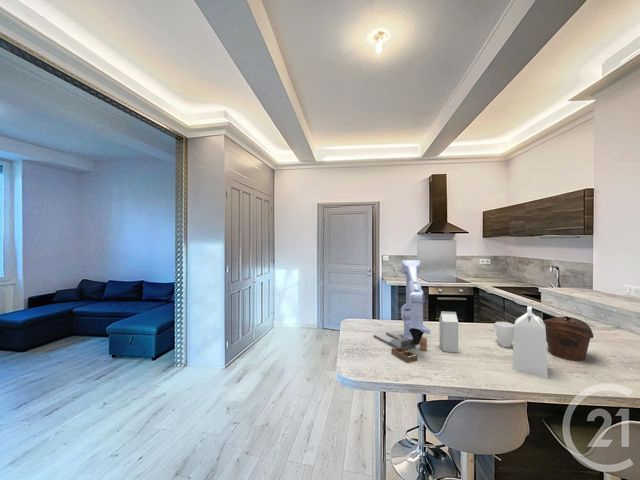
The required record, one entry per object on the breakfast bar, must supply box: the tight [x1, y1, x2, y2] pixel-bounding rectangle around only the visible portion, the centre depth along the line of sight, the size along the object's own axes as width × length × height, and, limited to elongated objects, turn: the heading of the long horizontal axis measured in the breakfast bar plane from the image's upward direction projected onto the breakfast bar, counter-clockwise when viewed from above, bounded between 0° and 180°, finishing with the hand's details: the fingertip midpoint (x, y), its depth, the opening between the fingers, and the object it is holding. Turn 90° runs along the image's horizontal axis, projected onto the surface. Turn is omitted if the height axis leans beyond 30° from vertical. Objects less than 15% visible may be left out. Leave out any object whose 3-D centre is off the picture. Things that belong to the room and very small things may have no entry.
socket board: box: [390, 347, 419, 364], centre depth 126 cm, size 6×11×2 cm, turn 26°
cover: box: [388, 337, 417, 348], centre depth 139 cm, size 10×9×3 cm
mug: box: [492, 321, 515, 348], centre depth 141 cm, size 12×8×11 cm
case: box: [542, 316, 595, 362], centre depth 128 cm, size 18×20×18 cm
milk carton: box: [438, 311, 459, 354], centre depth 135 cm, size 7×7×19 cm
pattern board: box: [373, 332, 417, 351], centre depth 144 cm, size 10×22×1 cm, turn 26°
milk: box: [511, 305, 549, 379], centre depth 115 cm, size 12×12×26 cm
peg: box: [419, 336, 428, 352], centre depth 134 cm, size 3×3×6 cm
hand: (416, 344), depth 130 cm, fingers closed
